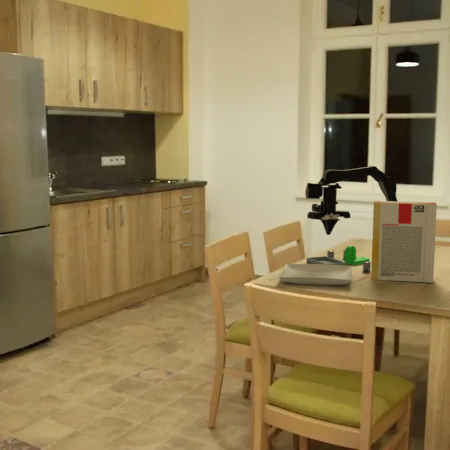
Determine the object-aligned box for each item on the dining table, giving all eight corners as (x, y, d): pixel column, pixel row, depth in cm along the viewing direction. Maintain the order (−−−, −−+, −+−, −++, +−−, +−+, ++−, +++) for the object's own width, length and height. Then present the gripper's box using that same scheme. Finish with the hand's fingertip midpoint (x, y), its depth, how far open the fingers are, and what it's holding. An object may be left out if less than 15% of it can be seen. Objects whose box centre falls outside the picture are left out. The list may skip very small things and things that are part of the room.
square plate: (351, 273, 249) (352, 264, 248) (351, 289, 222) (352, 278, 222) (285, 271, 254) (286, 261, 254) (278, 285, 228) (278, 275, 227)
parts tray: (325, 260, 276) (325, 256, 275) (346, 266, 261) (346, 262, 261) (306, 262, 272) (306, 257, 271) (326, 268, 257) (326, 264, 257)
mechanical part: (355, 266, 264) (356, 247, 263) (344, 264, 269) (344, 246, 268) (372, 262, 272) (372, 245, 271) (361, 260, 277) (361, 243, 276)
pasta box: (431, 278, 239) (435, 202, 235) (433, 282, 231) (436, 204, 228) (371, 275, 245) (374, 200, 241) (371, 279, 237) (373, 202, 233)
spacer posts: (358, 256, 285) (358, 248, 285) (402, 269, 257) (403, 259, 257) (324, 259, 278) (324, 251, 277) (365, 272, 250) (366, 263, 249)
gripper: (337, 197, 274) (335, 231, 276) (301, 197, 266) (300, 233, 268) (351, 199, 264) (350, 234, 266) (315, 200, 256) (313, 236, 258)
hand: (328, 234), depth 265 cm, fingers closed
